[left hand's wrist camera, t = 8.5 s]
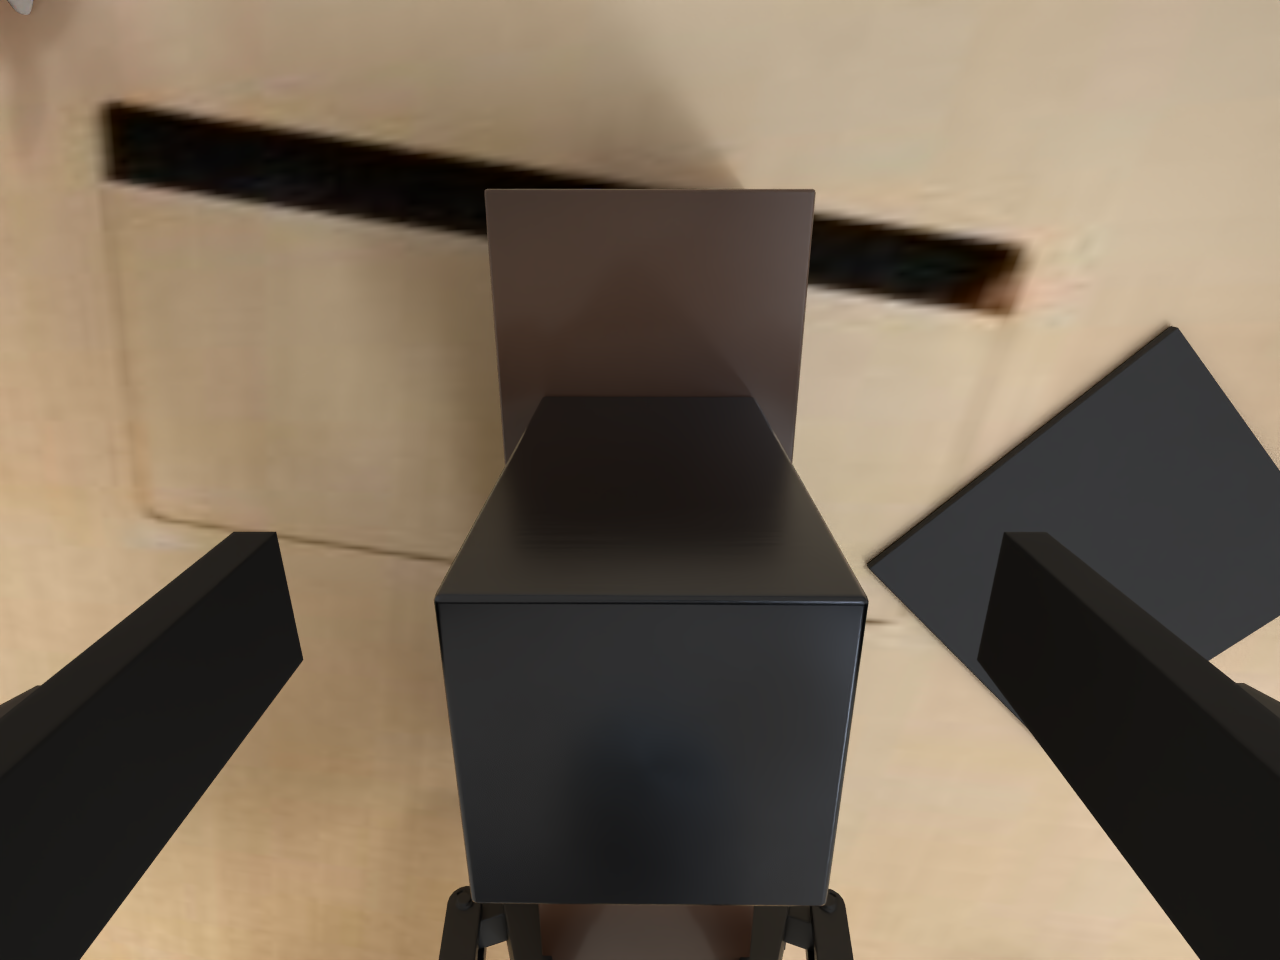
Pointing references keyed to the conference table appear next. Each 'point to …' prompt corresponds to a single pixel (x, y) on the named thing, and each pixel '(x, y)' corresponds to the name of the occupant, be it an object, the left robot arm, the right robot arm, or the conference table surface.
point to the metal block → (650, 663)
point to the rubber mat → (1116, 511)
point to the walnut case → (648, 388)
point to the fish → (22, 6)
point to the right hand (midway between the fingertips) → (645, 765)
